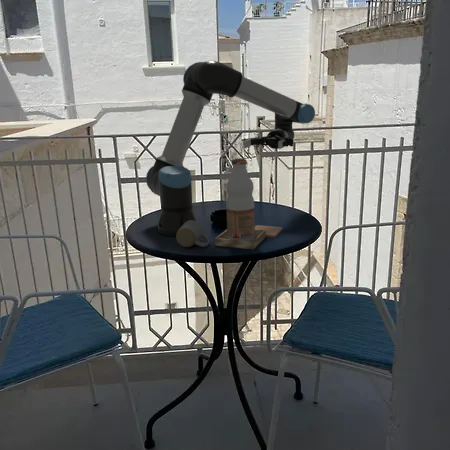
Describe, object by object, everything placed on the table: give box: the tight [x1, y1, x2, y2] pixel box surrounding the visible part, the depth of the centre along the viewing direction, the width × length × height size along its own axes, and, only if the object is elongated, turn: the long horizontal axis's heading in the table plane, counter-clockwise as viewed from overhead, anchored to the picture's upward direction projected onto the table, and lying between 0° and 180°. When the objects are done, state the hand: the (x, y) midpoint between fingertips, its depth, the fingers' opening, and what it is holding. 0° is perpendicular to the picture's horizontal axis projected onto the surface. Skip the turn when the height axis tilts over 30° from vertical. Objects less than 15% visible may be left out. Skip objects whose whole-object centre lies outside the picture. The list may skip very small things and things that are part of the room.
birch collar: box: [214, 229, 267, 250], centre depth 157 cm, size 14×14×2 cm
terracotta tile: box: [255, 224, 283, 238], centre depth 166 cm, size 10×10×1 cm
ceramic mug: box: [175, 220, 210, 248], centre depth 154 cm, size 11×8×8 cm
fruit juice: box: [225, 158, 256, 241], centre depth 153 cm, size 9×9×28 cm
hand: (261, 145), depth 170 cm, fingers open, 13 cm apart
